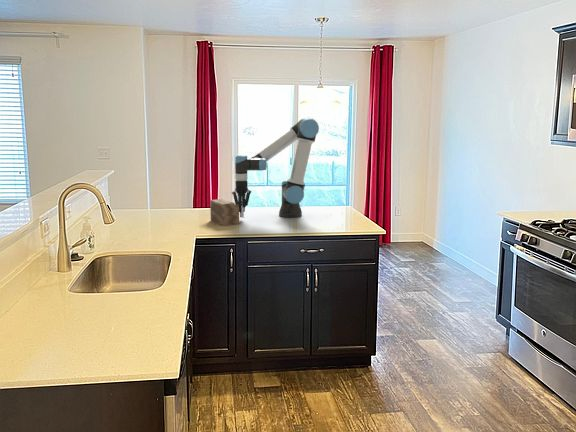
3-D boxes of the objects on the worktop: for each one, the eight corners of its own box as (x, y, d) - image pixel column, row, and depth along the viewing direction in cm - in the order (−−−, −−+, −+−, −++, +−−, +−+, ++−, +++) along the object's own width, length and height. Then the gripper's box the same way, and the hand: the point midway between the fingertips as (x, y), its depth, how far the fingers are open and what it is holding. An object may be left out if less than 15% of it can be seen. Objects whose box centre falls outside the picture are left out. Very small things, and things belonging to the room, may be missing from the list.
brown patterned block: (226, 219, 372) (226, 198, 370) (239, 223, 357) (239, 202, 355) (210, 220, 366) (210, 200, 364) (223, 225, 351) (222, 204, 349)
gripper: (247, 178, 370) (248, 215, 374) (229, 180, 363) (230, 217, 367) (253, 180, 363) (253, 217, 368) (234, 181, 357) (235, 219, 361)
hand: (241, 217), depth 368 cm, fingers closed
